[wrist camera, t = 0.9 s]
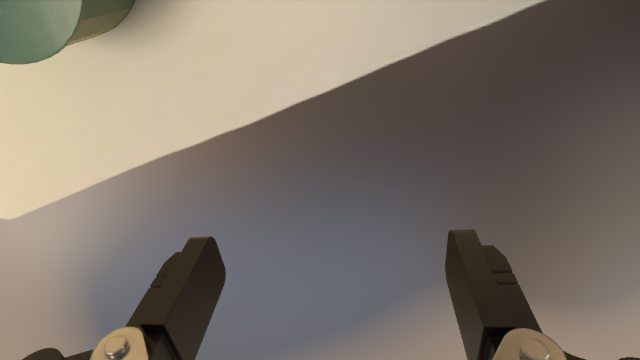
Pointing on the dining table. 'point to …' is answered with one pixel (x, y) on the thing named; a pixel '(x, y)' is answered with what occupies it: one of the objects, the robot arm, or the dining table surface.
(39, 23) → the lid
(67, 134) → the dining table surface
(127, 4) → the pot
